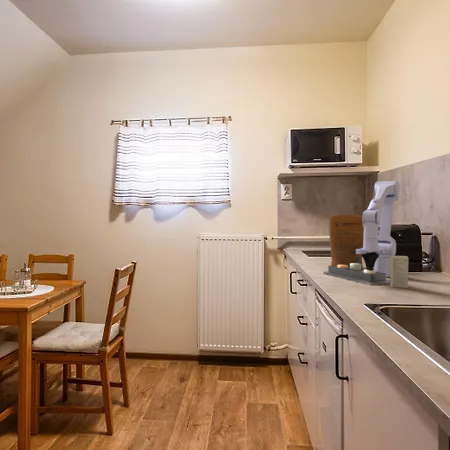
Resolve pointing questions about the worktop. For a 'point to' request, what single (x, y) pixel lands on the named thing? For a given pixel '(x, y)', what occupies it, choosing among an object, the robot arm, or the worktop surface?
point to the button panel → (357, 275)
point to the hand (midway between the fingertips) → (369, 270)
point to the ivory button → (369, 271)
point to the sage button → (355, 266)
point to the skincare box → (399, 271)
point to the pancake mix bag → (346, 239)
